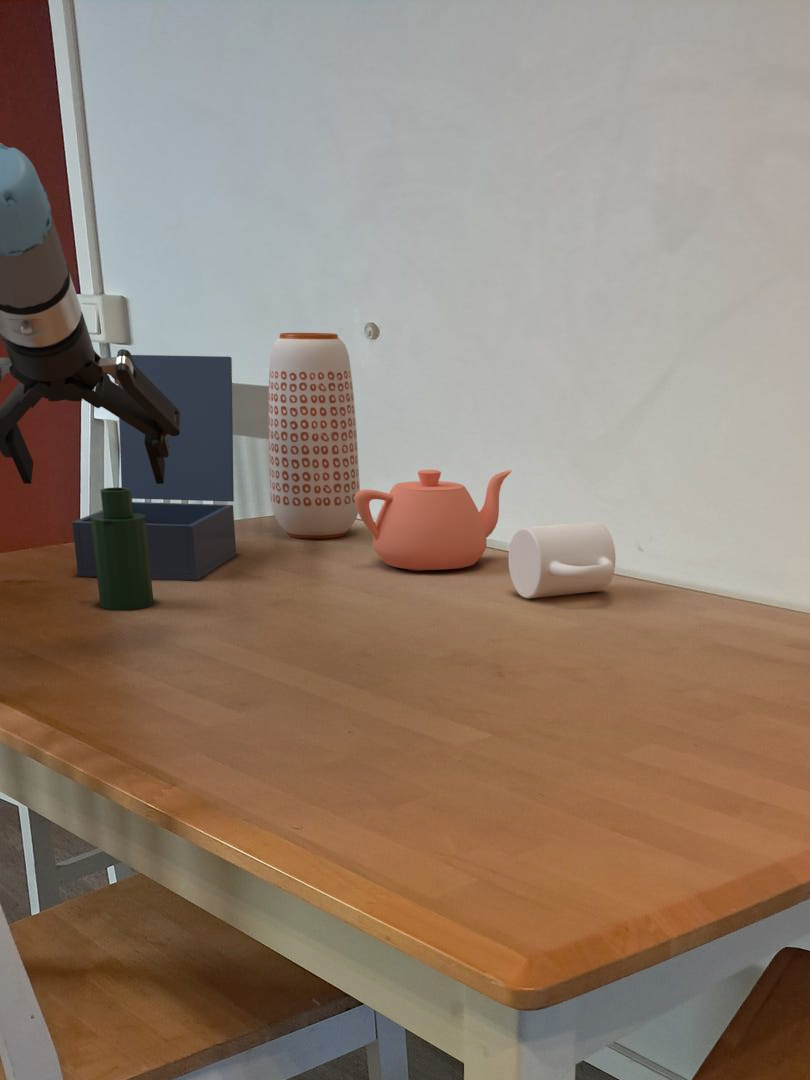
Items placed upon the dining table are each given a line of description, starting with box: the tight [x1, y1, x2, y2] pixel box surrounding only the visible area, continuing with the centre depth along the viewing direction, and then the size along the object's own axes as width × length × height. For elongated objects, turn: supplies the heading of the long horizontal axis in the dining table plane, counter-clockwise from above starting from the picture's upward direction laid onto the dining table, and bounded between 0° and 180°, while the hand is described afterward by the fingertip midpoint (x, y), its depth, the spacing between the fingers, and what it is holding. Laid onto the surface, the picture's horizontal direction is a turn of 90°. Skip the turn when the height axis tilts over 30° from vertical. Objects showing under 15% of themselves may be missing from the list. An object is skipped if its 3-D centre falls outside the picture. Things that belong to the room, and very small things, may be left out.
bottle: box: [91, 486, 154, 611], centre depth 146 cm, size 6×6×13 cm
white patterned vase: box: [268, 332, 361, 540], centre depth 187 cm, size 13×13×28 cm
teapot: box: [354, 469, 513, 572], centre depth 170 cm, size 22×15×12 cm
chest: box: [71, 501, 237, 581], centre depth 168 cm, size 18×16×7 cm
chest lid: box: [117, 354, 235, 502], centre depth 175 cm, size 19×16×7 cm
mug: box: [508, 521, 617, 599], centre depth 153 cm, size 12×10×8 cm
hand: (95, 473), depth 133 cm, fingers open, 13 cm apart
